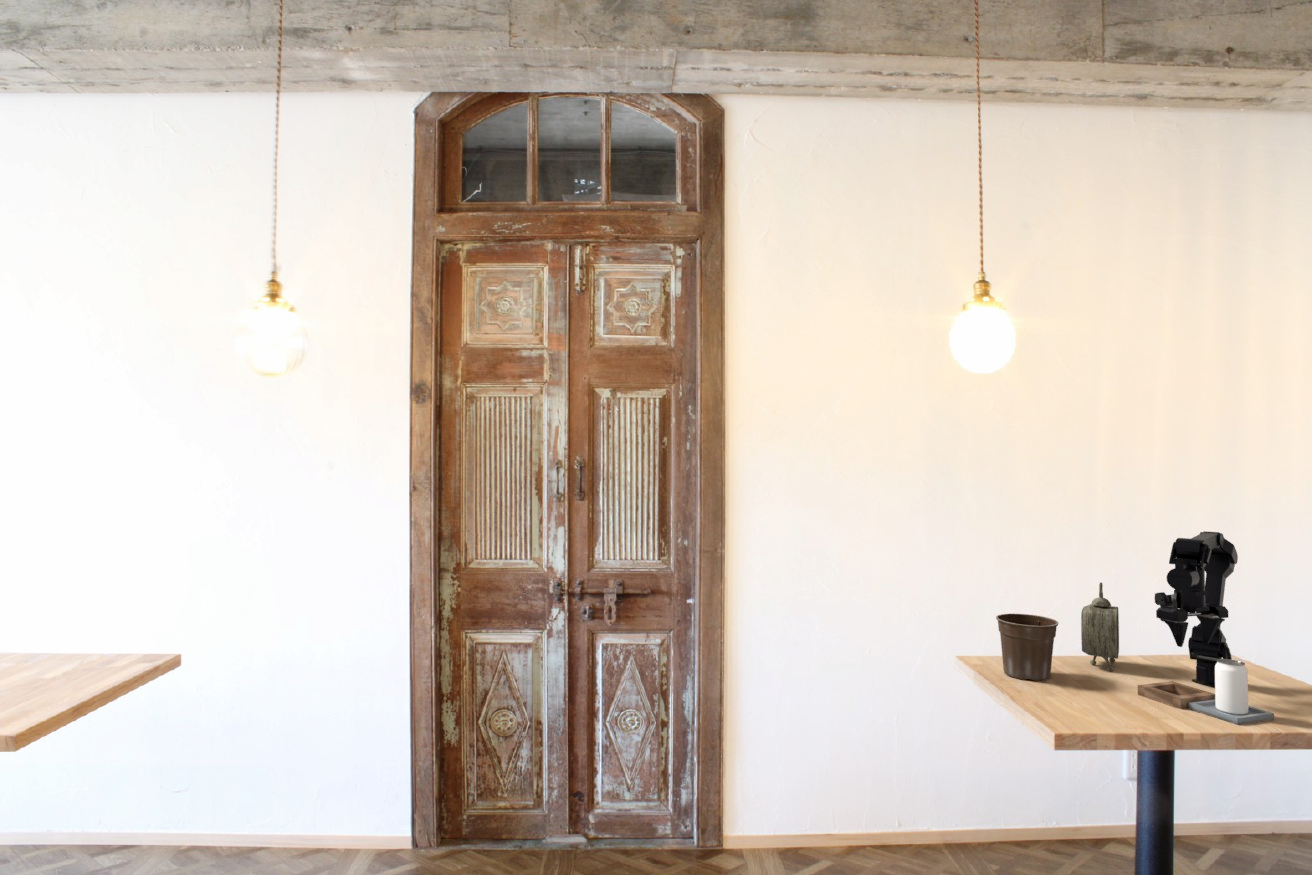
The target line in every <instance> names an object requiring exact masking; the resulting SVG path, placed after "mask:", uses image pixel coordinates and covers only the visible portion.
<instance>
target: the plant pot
mask: <svg viewBox="0 0 1312 875" xmlns="http://www.w3.org/2000/svg"><path fill="white" fill-rule="evenodd" d="M995 619H996V620H997V625H998V631H999V634H1000V645H1001V655H1002V665H1003V666H1002V667H1003V672H1004V675H1007V676H1008V677H1011V678H1013V677H1014V679H1018V680H1023V681H1025V680H1028V679H1029V680H1031V681H1035V682H1037V681H1038V682H1039V681H1042V682H1043V681H1047V680H1049V679H1051V672H1052V664H1053V663H1052V661H1053V652H1054V643H1055V642H1054V641H1055V638H1056V633H1057V629H1058V628H1057V627H1058V625H1059V621H1057V620H1056V619H1054V618H1050V617H1046V616H1041V615H1036V614H1027V613H1026V614H1025V613H1002V614H997V615H996V617H995Z"/></svg>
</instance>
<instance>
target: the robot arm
mask: <svg viewBox="0 0 1312 875" xmlns="http://www.w3.org/2000/svg"><path fill="white" fill-rule="evenodd" d="M1238 558H1239V557H1238V551H1237V549H1236V546H1235V545H1234V544H1233V543H1232V542H1231V541H1229V540H1227V539H1226V538H1225V537H1224V534H1223V533H1221V532H1219V531H1204V530H1203V531H1200V533H1198V534H1197V535H1195V536H1193V537H1192V538H1185V537H1178V538H1176V539H1175V541H1173V543H1172V547H1171V552H1170V556H1169V560H1168V563H1169V564H1170V565H1174V568H1172V569H1170V570H1169V571H1168V572H1167V575H1166V582H1167V584H1168V585H1169V586H1170V587H1171V588H1173V589H1174V590H1173V593H1172V594H1166V593H1165V592H1164V591H1162V592H1155V593H1154V603H1155V604H1156V605H1157V606H1159V607H1158V608H1157V609H1156V610H1155V611H1156V612H1155V613H1156V618H1157V619H1159V620H1160V621H1161V622H1164V623H1165V624H1166V625H1167V626H1168V627H1169V629H1170V631H1171V633H1172V636H1173V639H1174V641H1175V644H1176V645H1177V647H1180V648H1183V646H1184V643H1185V638H1186V634H1187V631H1188V626H1189V622H1188V621H1187V620H1188V618H1189V617H1196V618H1197V619H1198V621H1199V622H1200V623H1198V625H1194V626H1193V627H1192V628H1191V637H1189V638H1188V642H1187V644H1188V645H1187V646H1188V654H1189V659H1190V660H1191V661H1192V660H1194V661H1196V666H1195V674H1196V675H1195V676H1196V677H1195V678H1191V682H1194V683H1197V684H1202V685H1203V686H1204V685H1205V686H1208V687H1211V688H1215V665H1216V663H1217V660H1218V659H1231V660H1233V659H1232V653H1231V650H1230V648H1229V644H1228V643H1227V638H1226V636H1225V635H1224V633H1223V631H1222V629H1221V624H1222V623H1223V622H1225V620H1226V619H1227V618H1229V610H1228V608H1227V607H1226V606H1225V605H1224V596H1225V588H1226V580H1227V579H1228V578H1229V577H1230V576H1231V575H1232V573H1233V572H1234V570H1235V566H1236V565H1237V564H1238Z"/></svg>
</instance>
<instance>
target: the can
mask: <svg viewBox="0 0 1312 875" xmlns="http://www.w3.org/2000/svg"><path fill="white" fill-rule="evenodd" d="M1248 679H1249V676H1248V668H1247V667H1246V663H1245V662H1243V661H1240V660H1236V659H1232V660H1231V659H1223V658H1222V659H1218V660H1217V663H1216V665H1215V687H1214V692H1215V693H1214V694H1215V704H1216V708H1217V710H1219V711H1221V712H1224V713H1228V714H1233V715H1246V714H1247V713H1248V705H1249V680H1248Z"/></svg>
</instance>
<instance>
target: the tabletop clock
mask: <svg viewBox="0 0 1312 875" xmlns="http://www.w3.org/2000/svg"><path fill="white" fill-rule="evenodd" d="M1098 587H1099V588H1098V589H1099V590H1098V591H1099V592H1098V597H1096V598H1094V599H1093V600H1092V601H1091V603H1090V604H1088V605H1085V606H1083V607H1082V609H1081V613H1080V614H1081V615H1080V616H1081V617H1080V618H1081V619H1080V624H1081V626H1080V627H1081V628H1080V629H1081V630H1080V632H1081V633H1080V634H1081V652H1083V653H1084V654H1087V655H1088V656H1091V657H1092V659H1091V660H1090V662H1089V663H1090V664H1091V666H1096V665H1097V661H1096V659H1097V658H1099V657H1100V658H1102V659H1103V660H1104V661H1105V662H1106V665H1107V667H1106V668H1107V670H1108V672H1113V671H1114V670H1115V668H1114V667H1113V666H1112V665H1111V664H1115V663H1116V659H1118V658H1119V652H1120V622H1119V619H1120V618H1119V617H1120V616H1119V615H1120V613H1119V607H1118V606H1113V605H1112V604H1111V601H1109V599H1108V598H1105V597H1104V593H1103V582H1099V584H1098ZM1110 663H1111V664H1110Z"/></svg>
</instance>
